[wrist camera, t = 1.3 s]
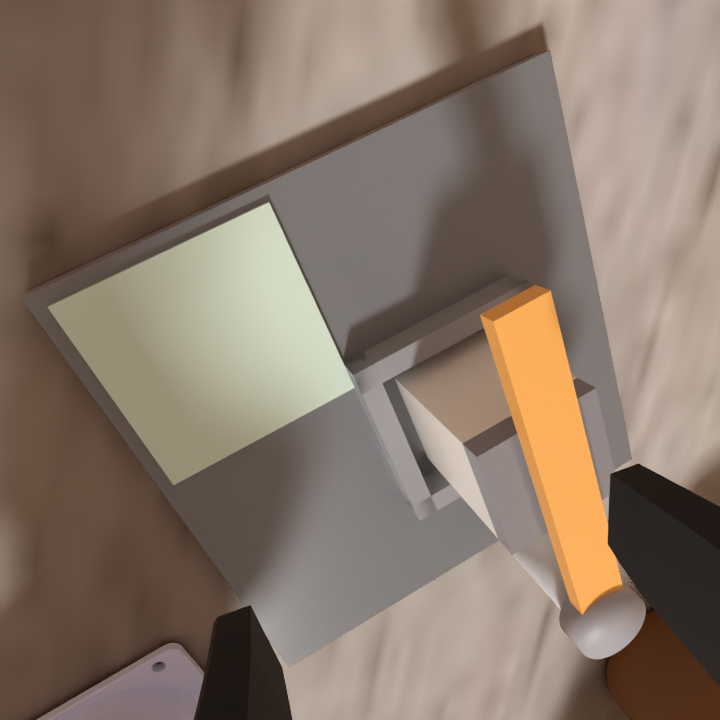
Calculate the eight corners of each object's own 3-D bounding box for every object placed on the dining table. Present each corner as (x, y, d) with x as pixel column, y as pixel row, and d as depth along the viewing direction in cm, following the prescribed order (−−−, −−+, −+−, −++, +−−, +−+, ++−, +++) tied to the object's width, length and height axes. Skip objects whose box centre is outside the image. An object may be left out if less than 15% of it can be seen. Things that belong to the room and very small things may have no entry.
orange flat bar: (568, 648, 19) (587, 672, 19) (458, 321, 14) (479, 334, 13) (628, 608, 20) (650, 630, 19) (547, 273, 14) (573, 282, 13)
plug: (427, 458, 22) (512, 554, 17) (393, 377, 21) (476, 457, 15) (511, 410, 23) (618, 489, 18) (485, 327, 21) (596, 387, 16)
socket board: (285, 652, 24) (326, 810, 19) (26, 291, 16) (-45, 371, 11) (619, 450, 27) (747, 534, 21) (535, 54, 19) (703, 13, 13)
